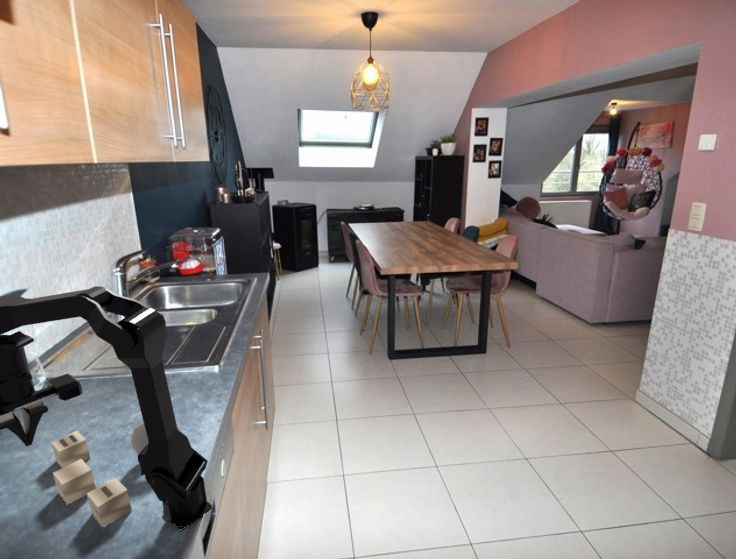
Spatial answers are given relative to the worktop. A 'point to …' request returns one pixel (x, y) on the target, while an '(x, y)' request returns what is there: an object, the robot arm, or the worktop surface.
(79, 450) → the two stroke block
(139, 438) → the donut
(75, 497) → the plain block
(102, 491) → the one stroke block
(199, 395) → the worktop surface
